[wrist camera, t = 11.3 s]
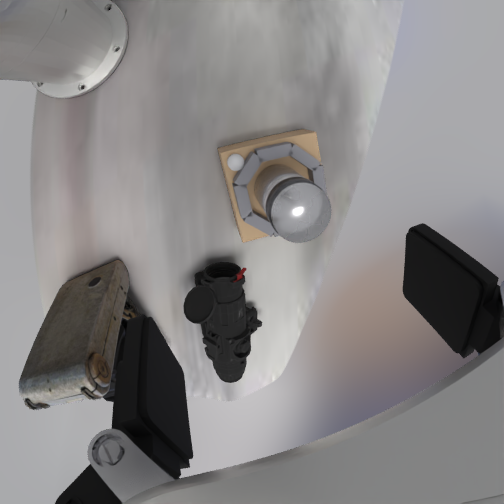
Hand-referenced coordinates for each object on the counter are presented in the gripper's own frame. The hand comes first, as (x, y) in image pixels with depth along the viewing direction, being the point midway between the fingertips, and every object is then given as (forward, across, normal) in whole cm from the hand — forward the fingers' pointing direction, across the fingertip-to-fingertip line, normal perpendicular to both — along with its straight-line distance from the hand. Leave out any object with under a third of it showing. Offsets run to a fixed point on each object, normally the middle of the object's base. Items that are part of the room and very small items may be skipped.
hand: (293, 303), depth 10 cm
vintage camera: (+27, +18, +16) cm, 36 cm away
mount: (+26, -6, +4) cm, 27 cm away
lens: (+22, -5, +4) cm, 23 cm away
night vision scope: (+26, +4, +20) cm, 33 cm away
